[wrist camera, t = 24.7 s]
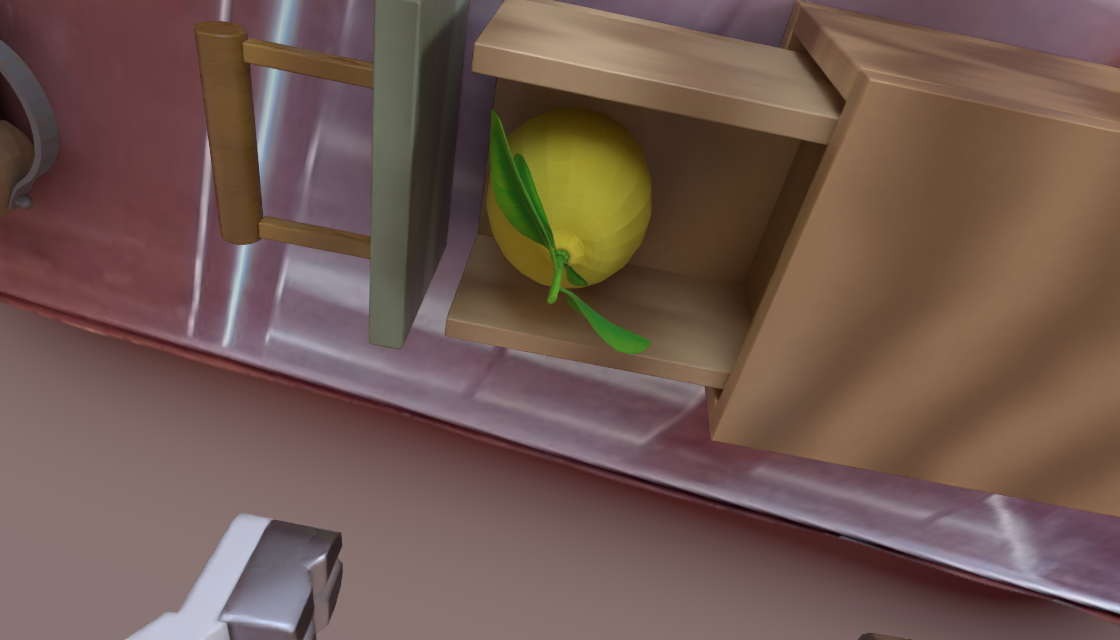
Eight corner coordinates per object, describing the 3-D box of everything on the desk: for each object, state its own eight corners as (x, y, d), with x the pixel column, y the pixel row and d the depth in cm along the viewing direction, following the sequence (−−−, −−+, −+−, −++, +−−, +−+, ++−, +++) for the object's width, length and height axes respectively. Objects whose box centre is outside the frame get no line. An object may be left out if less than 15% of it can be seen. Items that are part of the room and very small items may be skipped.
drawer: (289, 215, 30) (205, 313, 24) (271, -88, 23) (147, -56, 17) (744, 304, 31) (771, 421, 25) (854, 35, 24) (929, 107, 18)
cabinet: (691, 294, 32) (710, 441, 24) (796, -2, 24) (869, 78, 17) (1020, 359, 33) (1138, 521, 25) (1221, 89, 25) (1475, 205, 18)
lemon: (647, 240, 28) (654, 410, 20) (502, 226, 28) (452, 389, 20) (672, 71, 24) (694, 198, 16) (505, 57, 24) (444, 175, 16)
